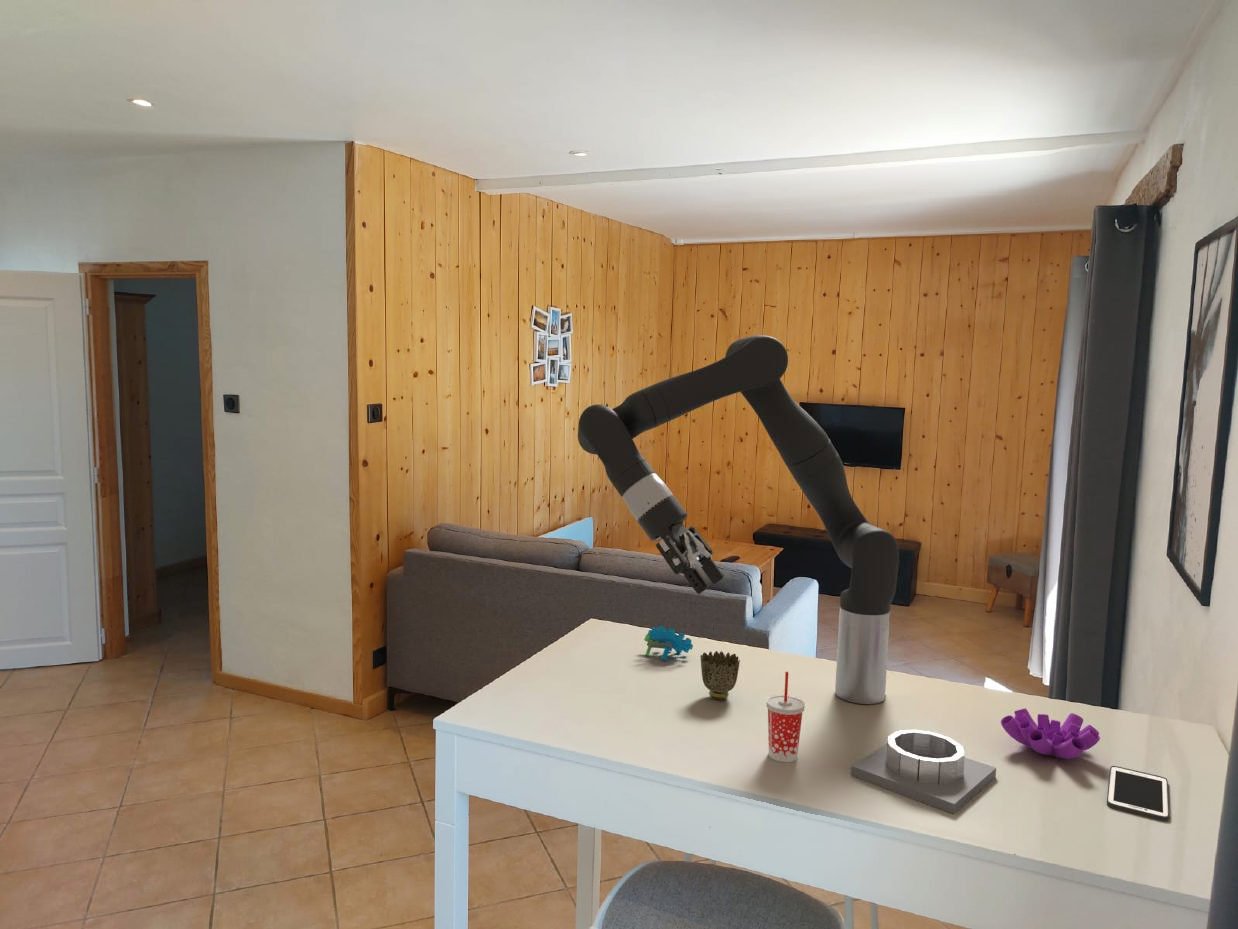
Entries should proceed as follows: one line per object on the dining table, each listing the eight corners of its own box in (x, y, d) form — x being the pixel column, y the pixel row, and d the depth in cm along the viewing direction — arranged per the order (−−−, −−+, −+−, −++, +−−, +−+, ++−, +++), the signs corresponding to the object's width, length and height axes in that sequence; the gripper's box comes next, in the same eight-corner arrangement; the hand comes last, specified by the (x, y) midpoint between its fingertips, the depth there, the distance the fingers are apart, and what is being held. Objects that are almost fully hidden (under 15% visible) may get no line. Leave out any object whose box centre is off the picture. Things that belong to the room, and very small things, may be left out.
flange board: (897, 744, 143) (898, 735, 142) (995, 777, 132) (996, 767, 131) (850, 775, 131) (851, 765, 131) (953, 814, 120) (954, 804, 120)
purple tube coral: (1098, 783, 137) (1113, 753, 131) (998, 769, 141) (1008, 740, 135) (1087, 721, 145) (1101, 690, 139) (993, 710, 149) (1002, 679, 143)
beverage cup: (809, 761, 135) (814, 676, 134) (776, 767, 133) (781, 681, 132) (788, 745, 141) (792, 663, 140) (756, 750, 139) (760, 667, 137)
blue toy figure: (701, 649, 184) (681, 624, 178) (693, 673, 181) (673, 649, 175) (658, 645, 190) (638, 621, 184) (649, 669, 187) (629, 645, 181)
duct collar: (905, 744, 139) (907, 724, 139) (973, 767, 131) (975, 745, 131) (874, 766, 131) (875, 744, 131) (944, 791, 123) (945, 768, 123)
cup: (740, 706, 157) (742, 664, 156) (700, 705, 157) (702, 663, 156) (735, 691, 165) (737, 651, 164) (697, 689, 165) (699, 650, 164)
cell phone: (1167, 783, 132) (1167, 777, 132) (1169, 825, 119) (1169, 818, 119) (1109, 770, 136) (1110, 764, 136) (1105, 809, 123) (1106, 803, 123)
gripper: (655, 497, 135) (716, 581, 132) (684, 489, 148) (740, 565, 145) (621, 525, 137) (680, 607, 134) (653, 514, 151) (707, 590, 147)
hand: (711, 585), depth 139 cm, fingers open, 8 cm apart
